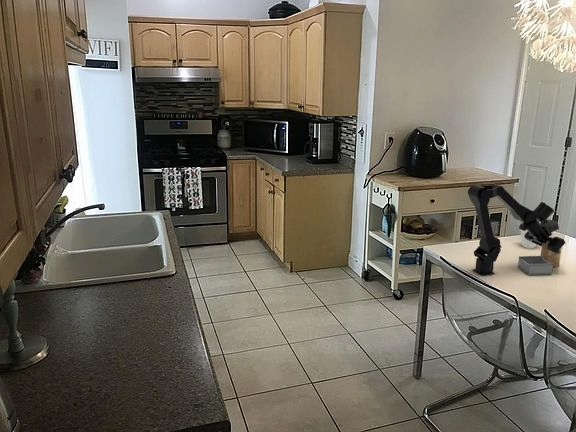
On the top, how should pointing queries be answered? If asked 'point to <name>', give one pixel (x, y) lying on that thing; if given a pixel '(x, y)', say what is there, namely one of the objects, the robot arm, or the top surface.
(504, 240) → the top surface
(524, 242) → the cup
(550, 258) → the small crate
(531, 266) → the large crate
